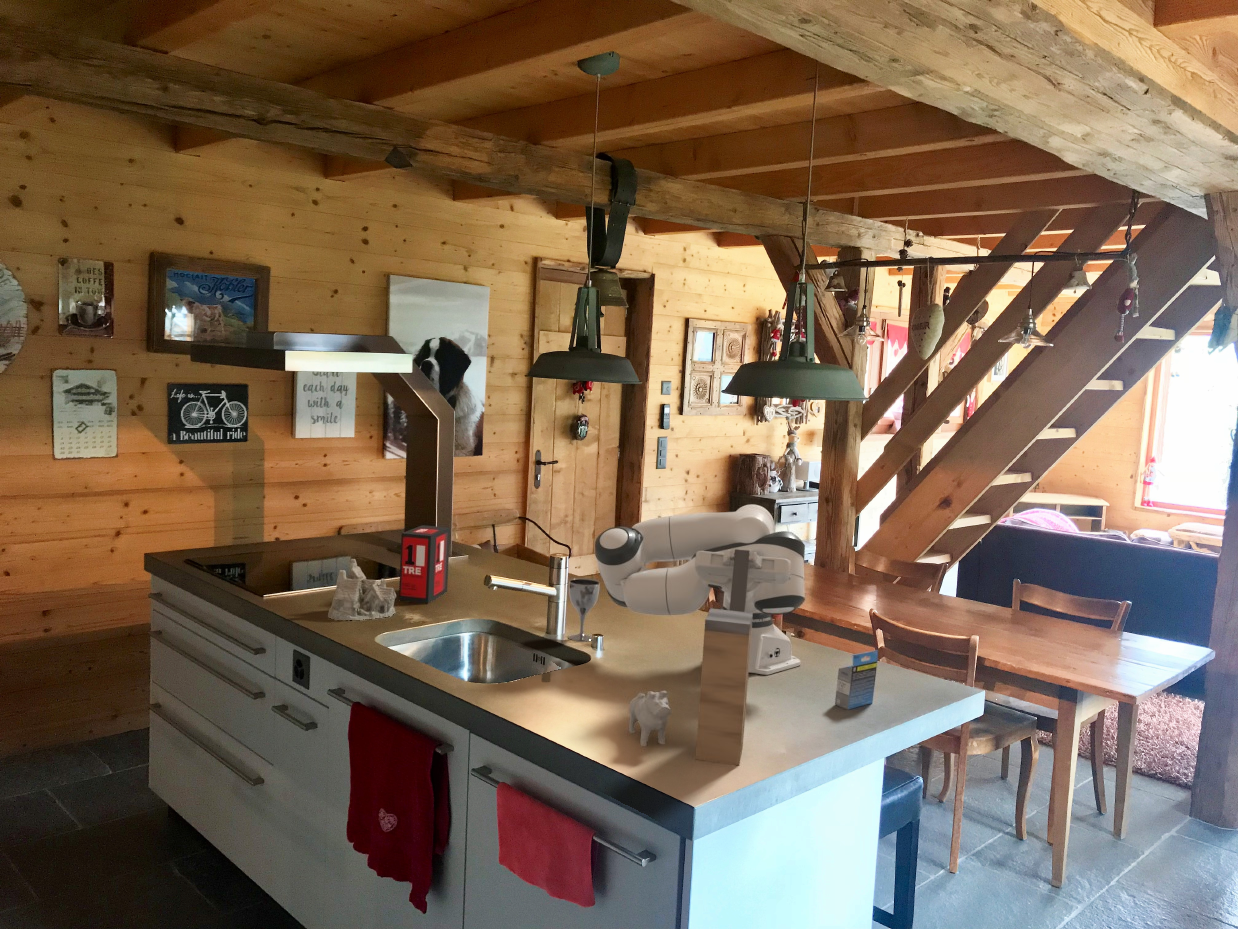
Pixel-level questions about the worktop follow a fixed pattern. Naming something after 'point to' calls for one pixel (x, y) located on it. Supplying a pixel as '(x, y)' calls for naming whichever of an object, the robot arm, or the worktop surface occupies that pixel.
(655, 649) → the worktop surface
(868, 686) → the label tape box
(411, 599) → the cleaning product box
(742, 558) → the plug
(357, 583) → the ceramic cottage
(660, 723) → the grey animal figure
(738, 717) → the stand
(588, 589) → the wine glass
